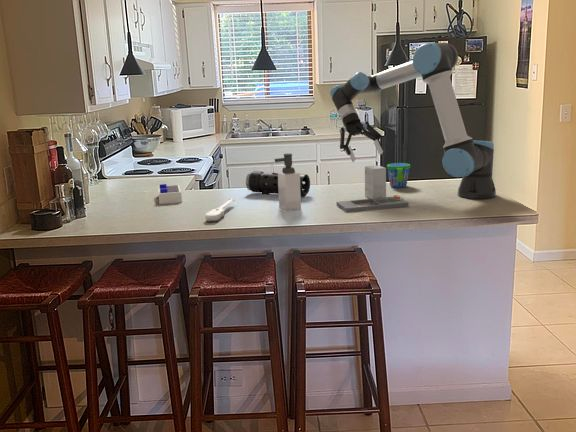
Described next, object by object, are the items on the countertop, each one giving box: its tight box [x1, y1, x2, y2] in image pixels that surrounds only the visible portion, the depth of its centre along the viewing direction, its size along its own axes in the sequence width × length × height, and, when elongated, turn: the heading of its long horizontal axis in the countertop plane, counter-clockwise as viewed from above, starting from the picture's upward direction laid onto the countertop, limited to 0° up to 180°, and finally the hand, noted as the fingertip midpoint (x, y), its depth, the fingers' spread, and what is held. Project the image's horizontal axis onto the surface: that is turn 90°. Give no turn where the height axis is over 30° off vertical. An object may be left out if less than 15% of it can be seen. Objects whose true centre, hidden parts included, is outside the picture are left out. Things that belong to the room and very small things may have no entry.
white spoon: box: [204, 198, 236, 222], centre depth 227 cm, size 28×6×3 cm, turn 167°
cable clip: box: [159, 183, 168, 193], centre depth 256 cm, size 12×4×6 cm, turn 13°
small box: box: [364, 165, 387, 199], centre depth 243 cm, size 8×6×13 cm
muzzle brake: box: [245, 170, 311, 198], centre depth 255 cm, size 10×28×10 cm, turn 64°
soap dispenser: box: [274, 153, 302, 212], centre depth 228 cm, size 6×9×22 cm
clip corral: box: [157, 184, 183, 205], centre depth 256 cm, size 10×18×4 cm, turn 13°
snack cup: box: [386, 162, 411, 188], centre depth 264 cm, size 16×10×10 cm
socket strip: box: [336, 194, 410, 213], centre depth 230 cm, size 26×12×2 cm, turn 103°
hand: (367, 157), depth 252 cm, fingers open, 13 cm apart
